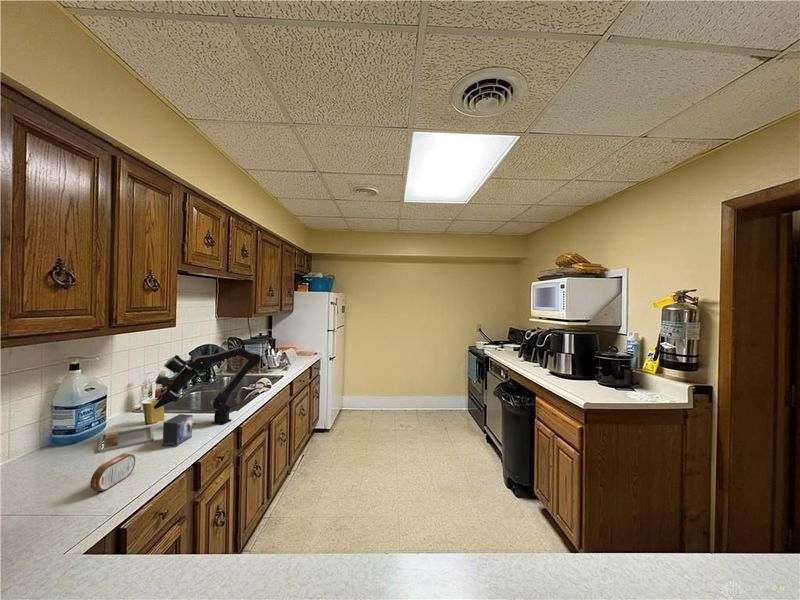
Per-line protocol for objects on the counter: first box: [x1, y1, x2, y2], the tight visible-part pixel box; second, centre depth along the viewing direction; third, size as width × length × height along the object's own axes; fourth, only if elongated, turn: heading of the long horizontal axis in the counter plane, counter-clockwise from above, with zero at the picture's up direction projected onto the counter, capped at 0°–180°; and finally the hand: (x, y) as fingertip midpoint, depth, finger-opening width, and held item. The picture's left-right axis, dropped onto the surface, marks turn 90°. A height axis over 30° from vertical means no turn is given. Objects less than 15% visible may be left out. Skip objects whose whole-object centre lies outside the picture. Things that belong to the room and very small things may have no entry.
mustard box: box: [150, 399, 165, 423], centre depth 153 cm, size 4×4×8 cm
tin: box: [89, 452, 136, 492], centre depth 114 cm, size 15×3×8 cm, turn 178°
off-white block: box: [105, 428, 119, 436], centre depth 146 cm, size 4×4×4 cm
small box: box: [162, 413, 194, 448], centre depth 146 cm, size 11×6×10 cm, turn 179°
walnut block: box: [105, 434, 118, 448], centre depth 141 cm, size 4×4×4 cm
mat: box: [155, 422, 197, 432], centre depth 163 cm, size 12×12×1 cm
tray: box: [97, 425, 155, 454], centre depth 147 cm, size 18×18×2 cm
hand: (154, 407), depth 152 cm, fingers closed on mustard box, 4 cm apart
